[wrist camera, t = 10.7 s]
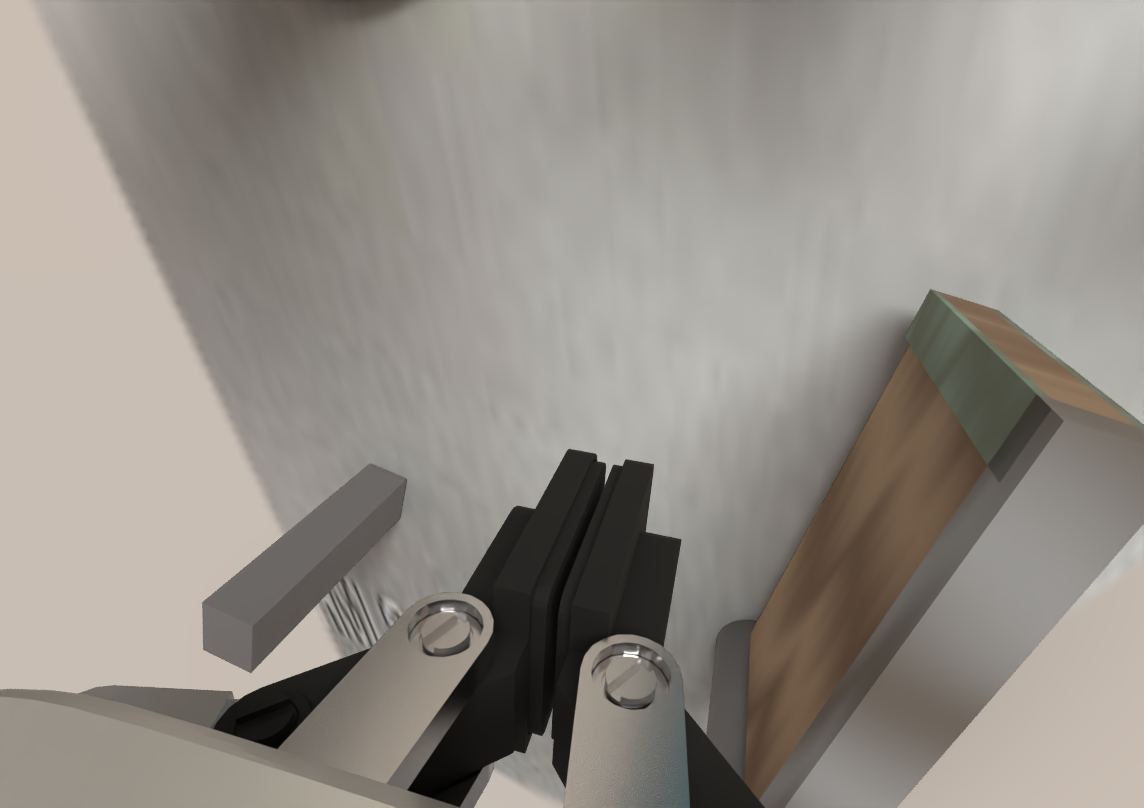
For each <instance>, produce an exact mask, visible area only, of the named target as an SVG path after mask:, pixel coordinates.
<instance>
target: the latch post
mask: <svg viewBox="0 0 1144 808" xmlns="http://www.w3.org/2000/svg"><path fill="white" fill-rule="evenodd" d="M406 481H407V479H405V478H403V477H400V476H398V475H396V474H393V473H391V472H389V471H386V470H384V469H381V468H379V467H377V466H374V465H372V464H369V465H368V466H367V467H365V468H364V469H363V470H362V471H361V472H359V473H358V474H357V475H356V476H355V477H353V478H352V479H351V480H350V481H349V482H347V483H346V484H345V485H344V486H343V487H341V488H340V489H339V490H338V491H336V492H335V493H334V494H333V495H332V496H330V497H329V498H328V499H327V500H326V501H324V502H323V503H322V504H321V505H320V506H318V507H317V508H316V509H315V510H313V511H312V512H311V513H310V514H309V515H307V516H306V517H305V518H304V519H303V520H301V521H300V522H299V523H298V524H297V525H295V526H294V527H293V528H292V529H291V530H289V531H288V532H287V533H286V534H284V535H283V536H282V537H281V538H280V539H278V540H277V541H276V542H275V543H274V544H272V545H271V546H270V547H269V548H268V549H267V550H265V551H264V552H263V553H262V554H261V555H259V556H258V557H257V558H256V559H254V560H253V561H252V562H251V563H249V564H248V565H247V566H246V567H245V568H243V569H242V570H241V571H240V572H239V573H237V574H236V575H235V576H234V577H233V578H231V579H230V580H229V581H228V582H226V583H225V584H224V585H223V586H222V587H220V588H219V589H218V590H217V591H216V592H214V593H213V594H212V595H211V596H210V597H208V598H207V599H206V600H205V601H203V603H202V608H203V650H205V651H207V652H209V653H211V654H213V655H215V656H217V657H219V658H221V659H224V660H225V661H227V662H229V663H231V664H234V665H236V666H238V667H240V668H242V669H244V670H246V671H248V672H250V673H252V671H253V670H254V669H255V668H256V667H257V666H258V665H259V664H260V663H261V662H262V661H263V660H264V659H265V658H266V657H267V656H268V655H269V654H270V653H271V652H272V651H273V650H274V649H275V648H276V646H277V645H278V644H279V643H280V642H281V641H282V640H283V639H284V638H285V637H286V636H287V635H288V634H289V633H290V632H291V631H292V630H293V629H294V628H295V627H296V626H297V624H299V623H300V622H301V621H302V619H303V618H304V617H305V616H306V615H307V614H308V613H309V612H310V611H311V610H312V609H313V608H314V607H315V606H316V605H317V604H318V603H319V602H320V601H321V600H322V599H323V598H324V597H325V596H326V595H327V593H328V592H329V591H330V590H331V589H332V588H333V587H334V586H335V585H336V584H337V583H338V582H339V581H340V580H341V579H342V578H343V577H344V576H345V575H346V574H347V573H348V572H349V571H350V570H351V569H352V567H353V566H354V565H355V564H356V563H357V562H358V561H359V560H360V559H361V558H362V557H363V556H364V555H365V554H366V553H367V552H368V551H369V550H370V549H371V548H372V547H373V546H374V545H375V544H376V543H377V541H378V540H379V539H380V538H381V537H382V536H383V535H384V534H385V533H386V532H387V531H388V530H389V529H390V528H391V527H392V526H393V525H394V524H395V523H396V522H397V521H398V520H399V519H400V516H401V511H402V505H403V499H404V493H405V487H406Z"/></svg>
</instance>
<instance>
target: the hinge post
mask: <svg viewBox="0 0 1144 808" xmlns="http://www.w3.org/2000/svg"><path fill="white" fill-rule="evenodd" d="M756 623H757V621H751V620H741V621H735V622H732V623H730V624H728V625H726V626H725V627H724V628H722V630H721V631H720V632H719V634H718V636H717V641H716V650H715V660H714V669H713V678H712V688H711V697H710V706H709V716H708V725H707V734H706V736H707V737H708V738H709V739H710V741H711V742H712V743H713V744H714V746H715V747H716V748H717V749H718V750H719V752H720V753H721V754H722V755H723V757H724V758H725V759H726V760H727V762H728V763H729V764H730V765H731V766H732V768H733V769H734V770H735V771H736V773H737V774H738V775H739V776H740V778H741V779H742V780H743V781H744V783H745V758H746V734H747V709H748V685H749V660H750V636H751V632H752V630H753V628H754V626H755V625H756Z"/></svg>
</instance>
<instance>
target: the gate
mask: <svg viewBox="0 0 1144 808" xmlns="http://www.w3.org/2000/svg"><path fill="white" fill-rule="evenodd" d="M905 339H906V340H907V342H908V344H909V347H908V349H907V350H906V352H905V354H904V356H903V358H902V359H901V361H900V363H899V365H898V367H897V369H896V370H895V372H894V374H893V376H892V378H891V379H890V381H889V383H888V385H887V387H886V389H885V390H884V392H883V394H882V396H881V398H880V399H879V401H878V403H877V405H876V407H875V409H874V410H873V412H872V414H871V416H870V418H869V419H868V421H867V423H866V425H865V427H864V428H863V430H862V432H861V434H860V436H859V438H858V439H857V441H856V443H855V445H854V447H853V448H852V450H851V452H850V454H849V456H848V458H847V459H846V461H845V463H844V465H843V467H842V468H841V470H840V472H839V474H838V476H837V478H836V479H835V481H834V483H833V485H832V487H831V488H830V490H829V492H828V494H827V496H826V497H825V499H824V501H823V503H822V505H821V507H820V508H819V510H818V512H817V514H816V516H815V517H814V519H813V521H812V523H811V525H810V527H809V528H808V530H807V532H806V534H805V536H804V537H803V539H802V541H801V543H800V545H799V547H798V548H797V550H796V552H795V554H794V556H793V557H792V559H791V561H790V563H789V565H788V567H787V568H786V570H785V572H784V574H783V576H782V577H781V579H780V581H779V583H778V585H777V586H776V588H775V590H774V592H773V594H772V596H771V597H770V599H769V601H768V603H767V605H766V606H765V608H764V610H763V612H762V614H761V616H760V617H759V619H758V621H757V623H756V625H755V626H754V628H753V630H752V632H751V636H750V660H749V685H748V709H747V734H746V758H745V784H746V785H747V786H748V787H749V789H750V790H751V791H752V792H753V794H754V795H755V796H756V797H757V799H758V800H759V801H760V802H761V804H762V805H763V806H764V807H765V808H897V807H898V806H899V804H900V803H901V802H902V801H903V800H904V799H905V797H906V796H907V795H908V794H909V793H910V792H911V791H912V789H913V788H914V787H915V786H916V785H917V784H918V782H919V781H920V780H921V779H922V778H923V777H924V776H925V774H926V773H927V772H928V771H929V770H930V769H931V768H932V766H933V765H934V764H935V763H936V762H937V761H938V760H939V758H940V757H941V756H942V755H943V754H944V753H945V751H946V750H947V749H948V748H949V747H950V746H951V745H952V743H953V742H954V741H955V740H956V739H957V738H958V737H959V735H960V734H961V733H962V732H963V731H964V730H965V729H966V727H967V726H968V725H969V724H970V723H971V722H972V720H973V719H974V718H975V717H976V716H977V715H978V714H979V712H980V711H981V710H982V709H983V708H984V706H986V704H987V703H988V702H989V701H990V700H991V699H992V697H993V696H994V695H995V694H996V693H997V692H998V691H999V689H1000V688H1001V687H1002V686H1003V685H1004V684H1005V683H1006V681H1007V680H1008V679H1009V678H1010V677H1011V676H1012V674H1013V673H1014V672H1015V671H1016V670H1017V669H1018V668H1019V666H1020V665H1021V664H1022V663H1023V662H1024V661H1025V660H1026V658H1027V657H1028V656H1029V655H1030V654H1031V653H1032V651H1033V650H1034V649H1035V648H1036V647H1037V646H1038V645H1039V643H1040V642H1041V641H1042V640H1043V639H1044V638H1045V637H1046V635H1047V634H1048V633H1049V632H1050V631H1051V630H1052V628H1053V627H1054V626H1055V625H1056V624H1057V623H1058V622H1059V620H1060V619H1061V618H1062V617H1063V616H1064V615H1065V614H1066V612H1067V611H1068V610H1069V609H1070V608H1071V607H1072V605H1073V604H1074V603H1075V602H1076V601H1077V600H1078V599H1079V597H1080V596H1081V595H1082V594H1083V593H1084V592H1085V591H1086V589H1087V588H1088V587H1089V586H1090V585H1091V584H1092V582H1093V581H1094V580H1095V579H1096V578H1097V577H1098V576H1099V574H1100V573H1101V572H1102V571H1103V570H1104V569H1105V568H1106V566H1107V565H1108V564H1109V563H1110V562H1111V561H1112V559H1113V558H1114V557H1115V556H1116V555H1117V554H1118V553H1119V551H1120V550H1121V549H1122V548H1123V547H1124V546H1125V545H1126V543H1127V542H1128V541H1129V540H1130V539H1131V538H1132V536H1133V535H1134V534H1135V533H1136V532H1137V531H1138V530H1139V528H1140V527H1141V526H1142V525H1143V524H1144V424H1142V423H1141V422H1140V421H1139V420H1137V419H1136V418H1135V417H1133V416H1132V415H1131V414H1130V413H1128V412H1127V411H1126V410H1125V409H1123V408H1122V407H1121V406H1119V405H1118V404H1117V403H1116V402H1114V401H1113V400H1112V399H1111V398H1109V397H1108V396H1107V395H1105V394H1104V393H1103V392H1102V391H1100V390H1099V389H1098V388H1097V387H1095V386H1094V385H1093V384H1091V383H1090V382H1089V381H1088V380H1086V379H1085V378H1084V377H1082V376H1081V375H1080V374H1079V373H1077V372H1076V371H1075V370H1074V369H1072V368H1071V367H1070V366H1068V365H1067V364H1066V363H1065V362H1063V361H1062V360H1061V359H1060V358H1058V357H1057V356H1056V355H1054V354H1053V353H1052V352H1051V351H1049V350H1048V349H1047V348H1046V347H1044V346H1043V345H1042V344H1040V343H1039V342H1038V341H1037V340H1035V339H1034V338H1033V337H1031V336H1030V335H1029V334H1028V333H1026V332H1025V331H1024V330H1023V329H1021V328H1020V327H1019V326H1017V325H1016V324H1015V323H1014V322H1012V321H1011V320H1010V319H1009V318H1007V317H1006V316H1005V315H1003V314H1002V313H1001V312H1000V311H998V310H995V309H992V308H989V307H985V306H982V305H979V304H976V303H973V302H970V301H966V300H963V299H960V298H957V297H954V296H950V295H947V294H944V293H941V292H938V291H935V290H931V289H930V291H929V293H928V294H927V296H926V298H925V300H924V302H923V304H922V306H921V307H920V309H919V311H918V313H917V315H916V317H915V318H914V320H913V322H912V324H911V326H910V328H909V329H908V331H907V333H906V335H905Z"/></svg>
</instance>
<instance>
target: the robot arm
mask: <svg viewBox="0 0 1144 808" xmlns="http://www.w3.org/2000/svg"><path fill="white" fill-rule="evenodd" d="M653 470H654V464H649V463H643V462H638V461H632V460H627V459H626V460H625V462H624V464H623V466H619V465H613V467H612V469H611V472H610V474H609V477H608V479H607V482H606V484H605V473H606V463H602V462H597V455H596V454H594V453H589V452H583V451H578V450H572V449H568V451H567V452H566V454H565V456H564V457H563V459H562V461H561V463H560V465H559V467H558V468H557V470H556V472H555V474H554V476H553V478H552V479H551V481H550V483H549V485H548V487H547V489H546V490H545V492H544V494H543V496H542V498H541V500H540V501H539V503H538V505H537V507H536V509H531V508H527V507H522V506H516V507H514V508H513V509H512V511H511V512H510V514H509V515H508V517H507V519H506V520H505V522H504V524H503V525H502V527H501V529H500V530H499V532H498V534H497V535H496V537H495V539H494V540H493V542H492V544H491V545H490V547H489V549H488V550H487V552H486V554H485V555H484V557H483V559H482V560H481V562H480V564H479V565H478V567H477V568H476V570H475V572H474V573H473V575H472V577H471V578H470V580H469V582H468V583H467V585H466V587H465V588H464V590H463V592H462V593H459V592H444V593H439V594H435V595H431V596H428V597H426V598H424V599H422V600H420V601H418V602H416V603H415V604H414V605H412V606H411V607H410V608H409V609H407V610H406V611H405V612H404V613H403V614H402V616H401V617H400V618H399V619H398V620H397V621H396V622H395V623H394V624H393V625H392V626H391V627H390V628H389V630H388V631H387V632H386V633H385V634H384V635H383V636H382V637H381V638H380V639H379V640H378V641H377V642H376V644H375V645H374V646H373V647H372V648H370V649H367V650H364V651H361V652H359V653H356V654H353V655H350V656H348V657H345V658H342V659H339V660H337V661H334V662H331V663H328V664H326V665H323V666H320V667H317V668H314V669H312V670H309V671H306V672H303V673H301V674H298V675H295V676H292V677H290V678H287V679H284V680H281V681H278V682H276V683H273V684H270V685H267V686H265V687H262V688H260V689H258V690H256V691H253V692H252V693H250V694H248V695H245V696H244V697H242V698H241V699H234V697H233V693H232V692H231V691H213V690H194V689H174V688H155V687H136V686H116V685H113V686H103V687H95V688H92V689H90V690H87V691H84V692H81V693H78V694H76V693H68V692H61V691H52V690H27V689H2V690H0V808H474V806H475V804H476V803H477V800H478V799H479V797H480V796H481V794H482V792H483V790H484V789H485V787H486V785H487V783H488V781H489V779H490V777H491V774H492V772H493V769H494V762H495V761H497V760H499V759H501V758H504V757H506V756H508V755H510V754H512V753H513V752H514V750H515V751H518V752H522V753H526V750H527V747H528V744H529V741H530V738H531V736H532V733H534V734H537V735H541V736H542V735H543V734H544V732H545V729H546V726H547V723H548V720H549V717H550V715H551V712H552V709H553V716H552V734H551V738H552V739H554V744H553V761H552V765H553V766H554V768H555V770H556V772H557V774H558V775H559V777H560V779H561V781H562V783H563V784H564V786H565V788H566V791H565V799H564V807H563V808H765V807H764V806H763V805H762V804H761V802H760V801H759V800H758V799H757V797H756V796H755V795H754V794H753V792H752V791H751V790H750V789H749V787H748V786H747V785H746V784H745V783H744V781H743V780H742V779H741V778H740V776H739V775H738V774H737V773H736V771H735V770H734V769H733V768H732V766H731V765H730V764H729V763H728V762H727V760H726V759H725V758H724V757H723V755H722V754H721V753H720V752H719V750H718V749H717V748H716V747H715V746H714V744H713V743H712V742H711V741H710V739H709V738H708V737H707V736H706V734H705V733H704V732H703V731H702V729H701V728H700V727H699V726H698V725H697V723H696V722H695V721H694V720H693V718H692V717H691V716H690V715H689V713H688V712H687V711H686V710H685V709H684V693H683V679H682V675H681V671H680V667H679V666H678V664H677V662H676V661H675V659H674V658H673V656H672V655H671V654H670V653H669V652H668V651H667V650H666V649H664V648H663V646H664V641H665V635H666V629H667V623H668V617H669V611H670V605H671V599H672V593H673V587H674V581H675V575H676V569H677V563H678V557H679V551H680V545H681V539H677V538H672V537H667V536H662V535H657V534H653V533H648V532H646V524H647V517H648V509H649V501H650V494H651V486H652V478H653ZM604 484H605V487H604Z"/></svg>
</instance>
